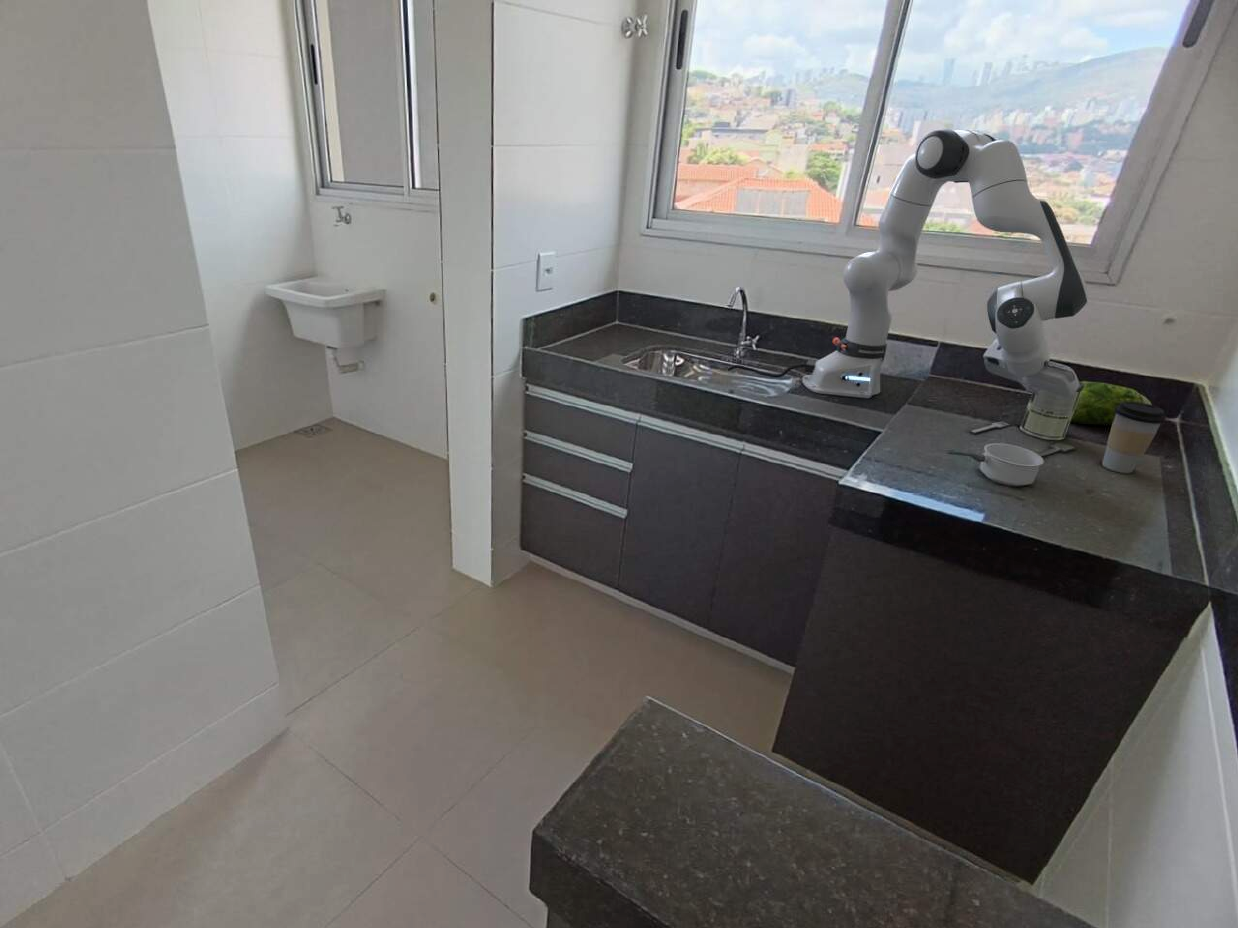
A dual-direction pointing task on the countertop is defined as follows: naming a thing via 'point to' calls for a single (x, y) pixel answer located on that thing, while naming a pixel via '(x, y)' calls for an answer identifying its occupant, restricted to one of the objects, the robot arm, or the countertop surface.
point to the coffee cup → (1131, 434)
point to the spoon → (1056, 449)
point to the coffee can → (1050, 414)
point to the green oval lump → (1102, 402)
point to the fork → (990, 427)
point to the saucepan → (1006, 463)
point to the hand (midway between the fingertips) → (1034, 391)
